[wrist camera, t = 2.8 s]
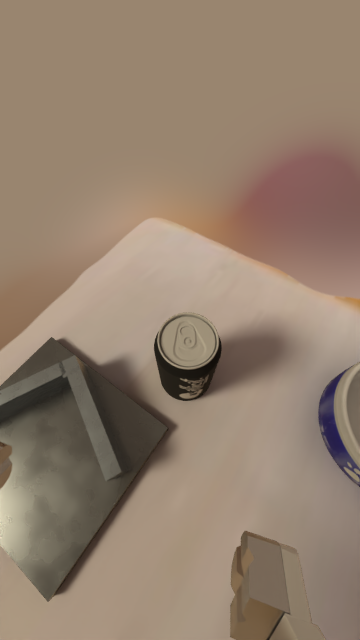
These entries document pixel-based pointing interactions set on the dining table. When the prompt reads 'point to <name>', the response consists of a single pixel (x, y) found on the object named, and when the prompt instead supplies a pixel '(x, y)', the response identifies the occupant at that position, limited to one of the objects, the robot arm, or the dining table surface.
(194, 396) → the beverage can
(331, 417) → the dog bowl
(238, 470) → the dining table surface
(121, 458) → the v block
